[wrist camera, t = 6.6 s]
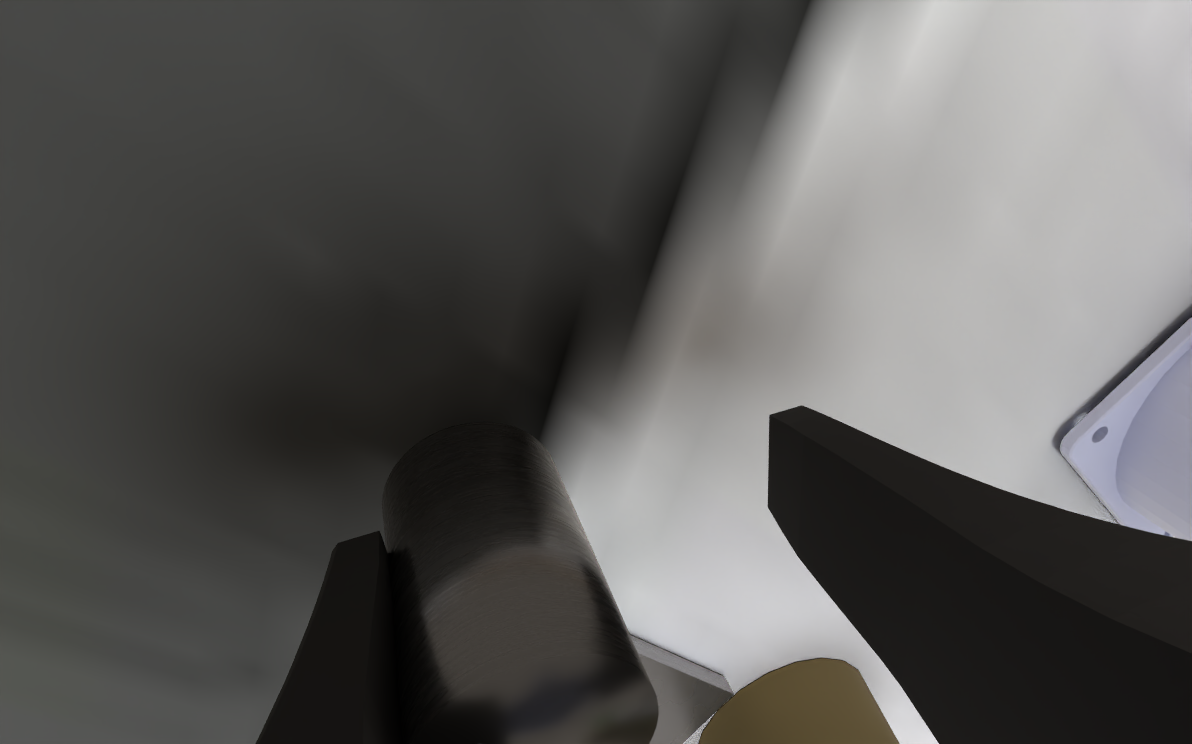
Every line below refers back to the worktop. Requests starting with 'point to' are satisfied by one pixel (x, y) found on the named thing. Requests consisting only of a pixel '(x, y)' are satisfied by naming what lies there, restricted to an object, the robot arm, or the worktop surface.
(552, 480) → the lever
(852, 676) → the cork
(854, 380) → the worktop surface
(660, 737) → the base plate
